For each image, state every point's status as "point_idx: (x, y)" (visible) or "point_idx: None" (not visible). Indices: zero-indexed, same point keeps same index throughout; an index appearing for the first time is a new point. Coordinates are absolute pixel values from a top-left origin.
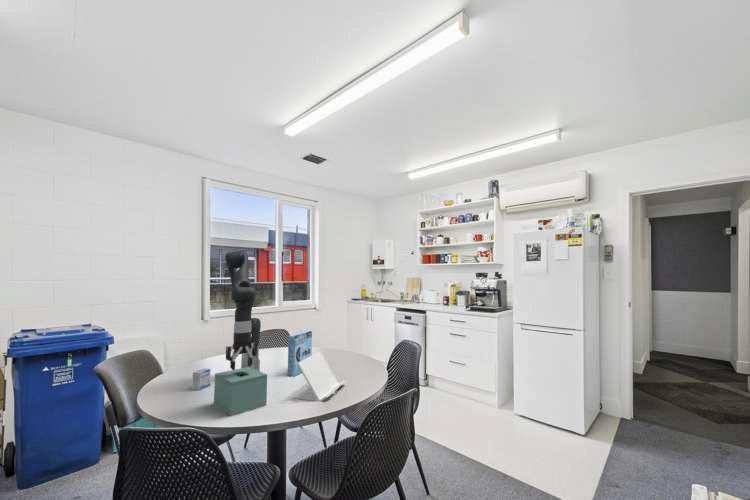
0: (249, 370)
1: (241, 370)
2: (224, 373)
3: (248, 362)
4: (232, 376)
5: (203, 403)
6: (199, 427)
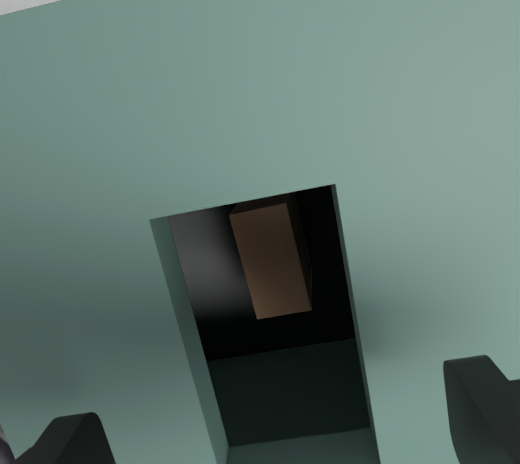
0: (474, 209)
1: (341, 118)
2: (14, 153)
3: (483, 461)
4: (125, 404)
5: (12, 5)
6: (3, 435)
